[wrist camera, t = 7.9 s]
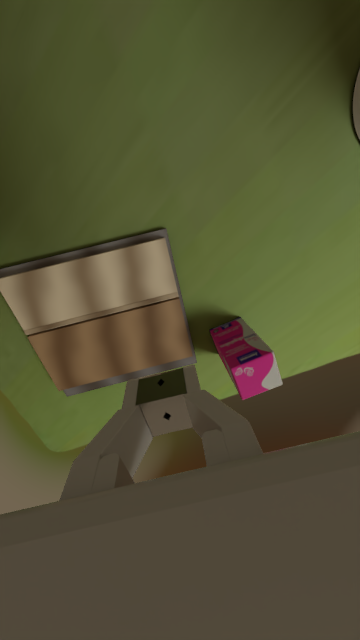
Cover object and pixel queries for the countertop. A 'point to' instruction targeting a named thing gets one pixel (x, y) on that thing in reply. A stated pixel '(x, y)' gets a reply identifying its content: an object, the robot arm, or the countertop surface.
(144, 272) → the floor board
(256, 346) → the supplement box
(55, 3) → the countertop surface
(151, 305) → the walnut plank
